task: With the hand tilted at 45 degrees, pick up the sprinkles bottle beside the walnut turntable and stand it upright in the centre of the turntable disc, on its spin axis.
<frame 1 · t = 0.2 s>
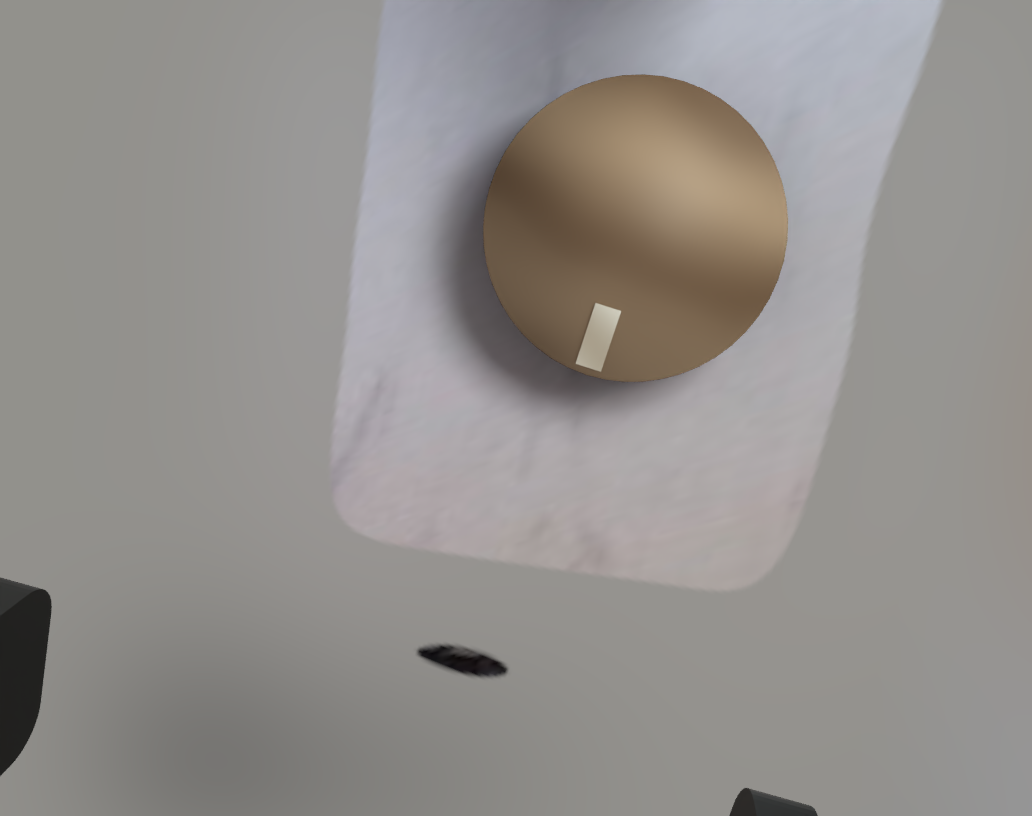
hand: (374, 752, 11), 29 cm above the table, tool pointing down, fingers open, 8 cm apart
turntable: (632, 232, 35), point 2 cm above the table, hinge at 0.0°
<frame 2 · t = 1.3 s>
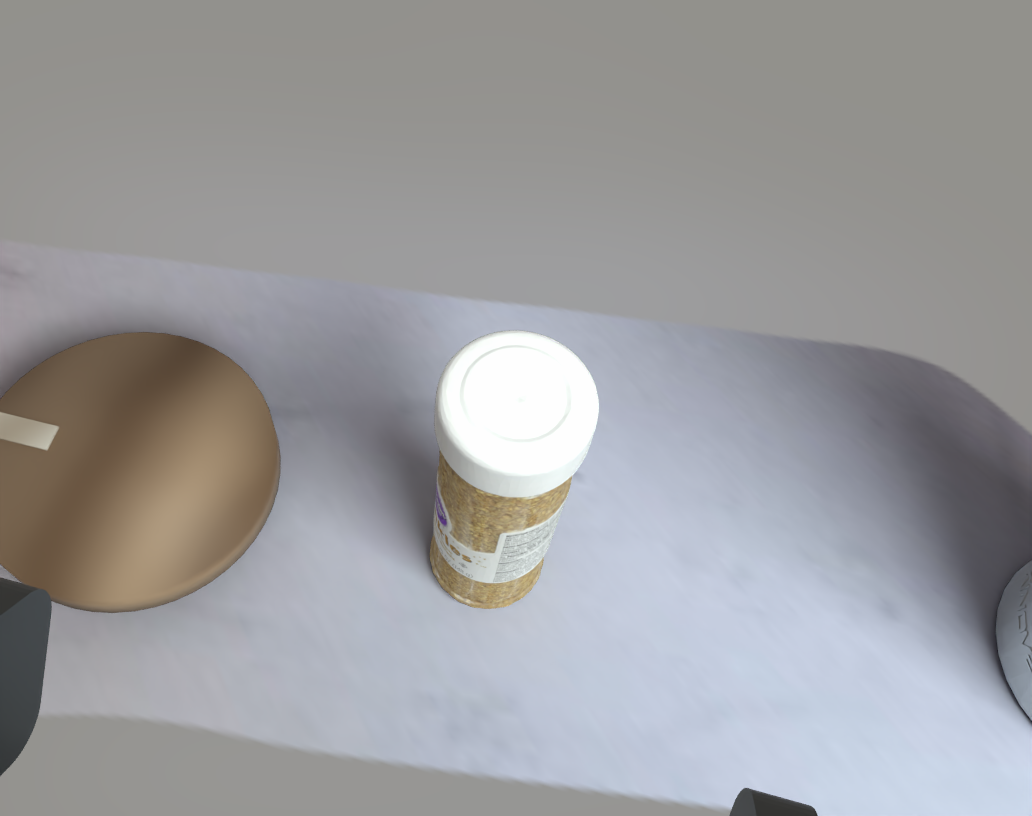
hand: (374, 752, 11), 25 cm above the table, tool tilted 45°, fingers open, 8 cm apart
turntable: (130, 464, 36), point 2 cm above the table, hinge at 0.0°
sprinkles bottle: (487, 558, 38), on the table
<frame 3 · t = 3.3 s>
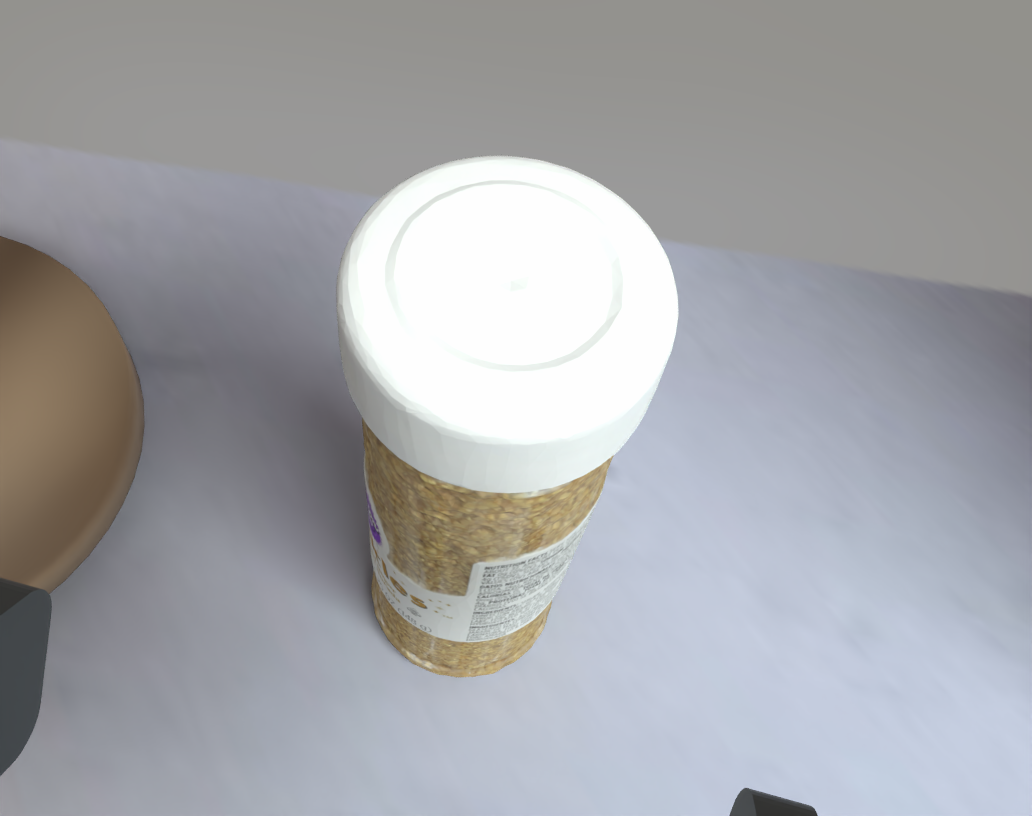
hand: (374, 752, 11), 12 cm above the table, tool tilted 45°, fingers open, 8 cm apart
sprinkles bottle: (463, 594, 24), on the table
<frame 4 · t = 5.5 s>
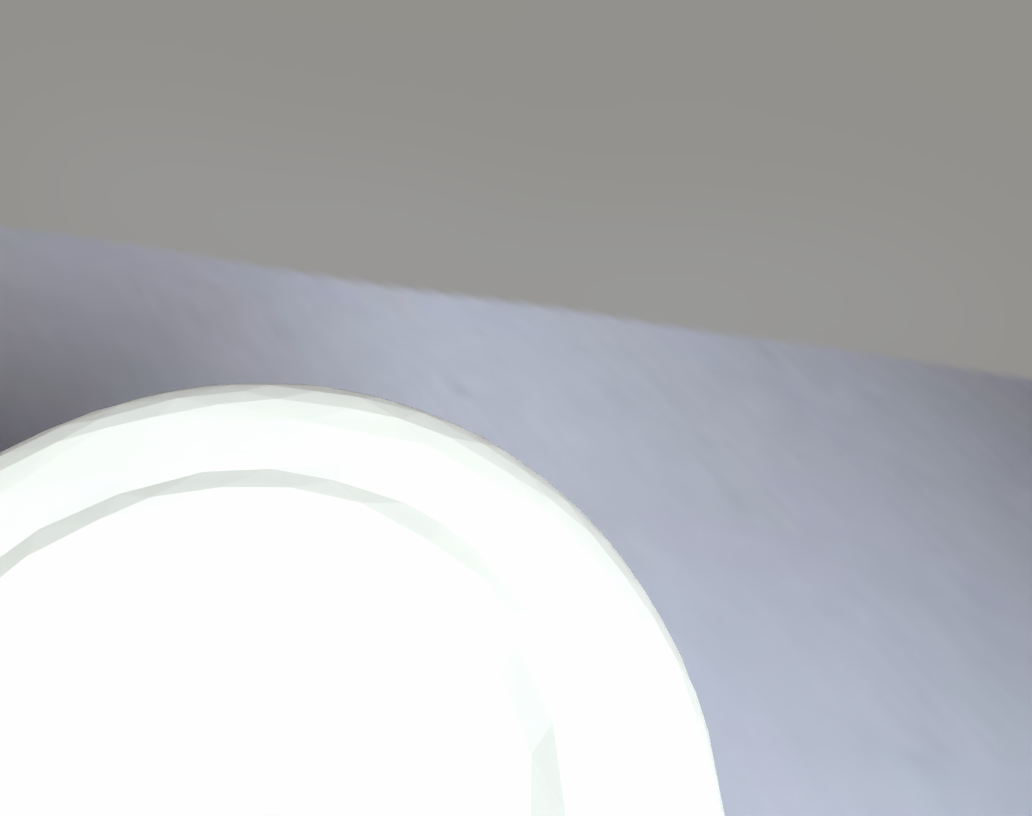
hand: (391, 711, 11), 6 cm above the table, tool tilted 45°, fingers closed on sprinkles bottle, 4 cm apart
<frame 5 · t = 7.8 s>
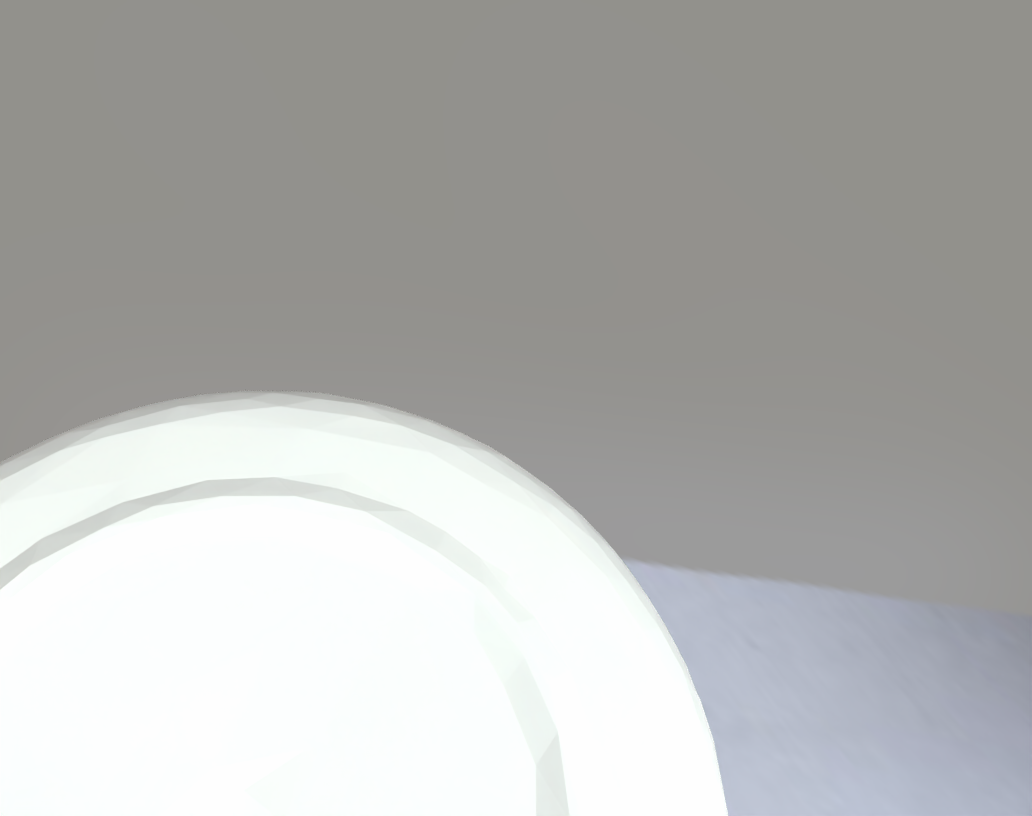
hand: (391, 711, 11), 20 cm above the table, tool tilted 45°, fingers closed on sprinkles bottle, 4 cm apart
when the fingers open (10 cm above the table, at t = 10.4 s): sprinkles bottle drops 1 cm, resting on turntable.
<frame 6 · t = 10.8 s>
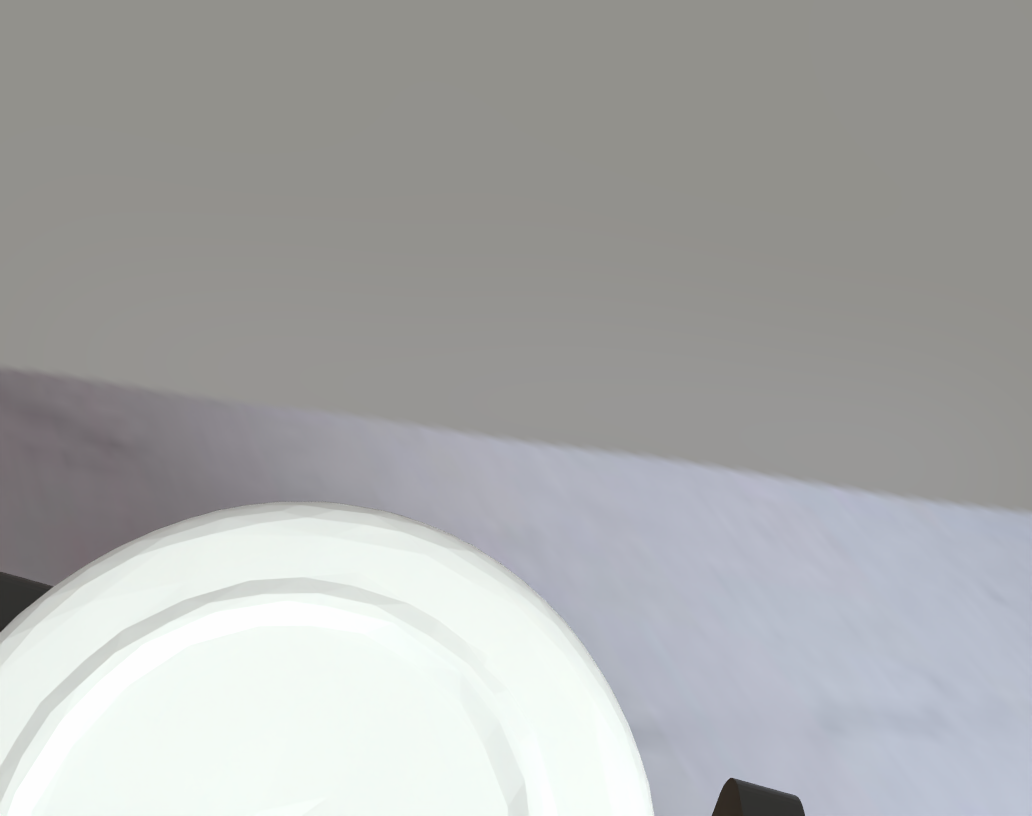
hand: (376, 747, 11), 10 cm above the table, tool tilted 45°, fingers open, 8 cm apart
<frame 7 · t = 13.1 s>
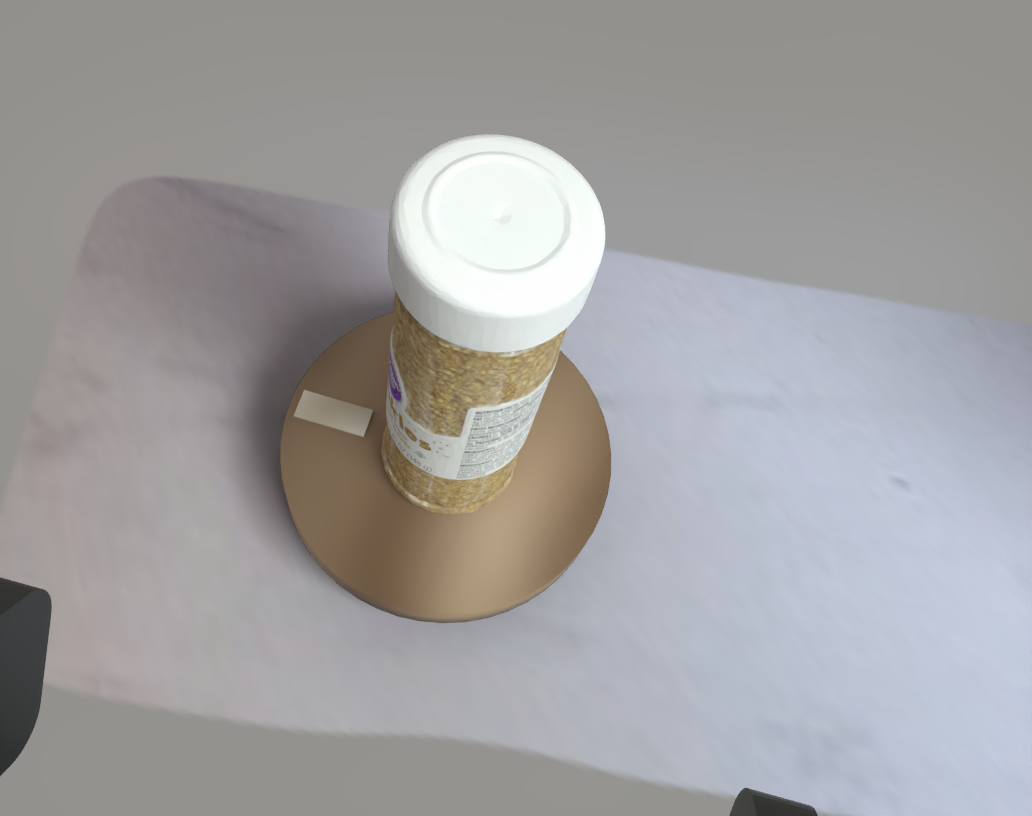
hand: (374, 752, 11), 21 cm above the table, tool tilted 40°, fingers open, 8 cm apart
turntable: (447, 455, 32), point 2 cm above the table, hinge at 0.0°, touching sprinkles bottle
sprinkles bottle: (450, 456, 32), point 2 cm above the table, touching turntable
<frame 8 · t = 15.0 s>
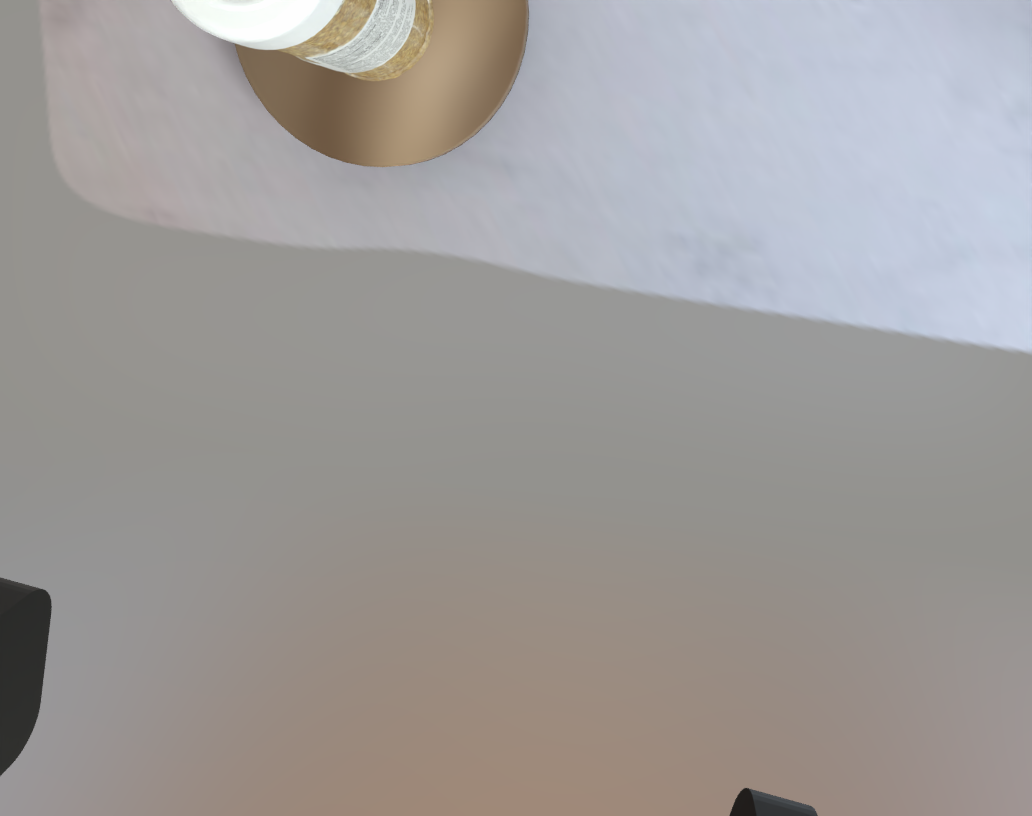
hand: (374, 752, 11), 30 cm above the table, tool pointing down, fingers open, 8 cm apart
turntable: (379, 14, 35), point 2 cm above the table, hinge at 0.0°, touching sprinkles bottle
sprinkles bottle: (377, 19, 35), point 2 cm above the table, touching turntable
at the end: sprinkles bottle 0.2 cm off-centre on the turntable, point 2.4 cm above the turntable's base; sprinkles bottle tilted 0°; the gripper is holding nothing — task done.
